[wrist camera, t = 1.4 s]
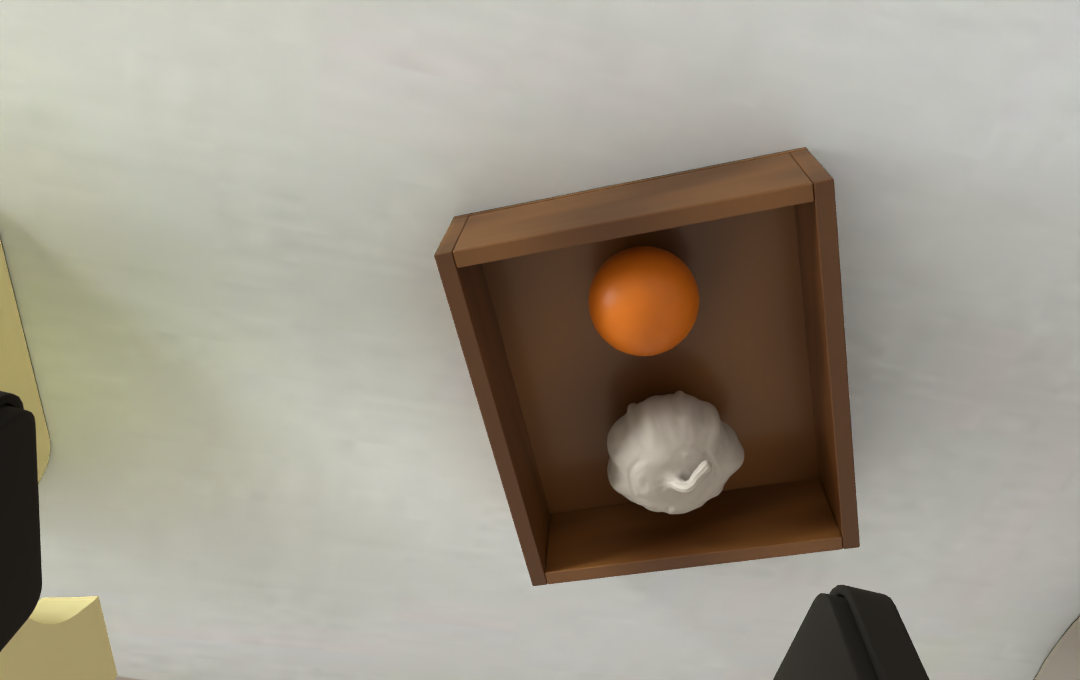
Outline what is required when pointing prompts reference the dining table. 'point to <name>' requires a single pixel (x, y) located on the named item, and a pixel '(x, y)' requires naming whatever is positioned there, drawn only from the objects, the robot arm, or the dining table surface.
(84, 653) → the slatted curved stool
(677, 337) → the mandarin
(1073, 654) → the lumpy-topped squat cylinder
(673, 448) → the garlic
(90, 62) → the dining table surface
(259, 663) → the dining table surface
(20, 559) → the robot arm
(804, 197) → the wooden tray
